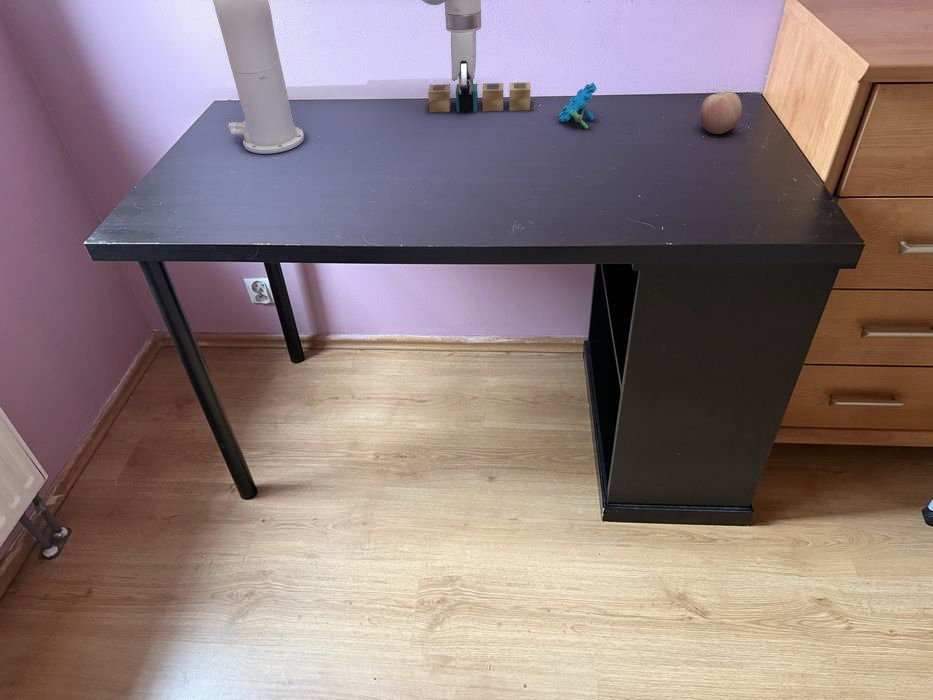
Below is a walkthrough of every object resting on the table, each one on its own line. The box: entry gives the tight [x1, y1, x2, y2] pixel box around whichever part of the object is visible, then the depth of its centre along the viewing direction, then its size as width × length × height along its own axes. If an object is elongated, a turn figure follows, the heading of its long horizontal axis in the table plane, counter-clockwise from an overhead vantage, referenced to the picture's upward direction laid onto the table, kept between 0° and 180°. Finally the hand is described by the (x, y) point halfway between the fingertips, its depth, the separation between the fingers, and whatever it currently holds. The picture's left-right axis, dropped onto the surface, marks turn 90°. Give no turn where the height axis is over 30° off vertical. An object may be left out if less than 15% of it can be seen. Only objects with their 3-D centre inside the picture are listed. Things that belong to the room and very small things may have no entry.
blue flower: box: [558, 82, 598, 130], centre depth 140 cm, size 11×6×10 cm
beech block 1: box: [427, 83, 452, 113], centre depth 149 cm, size 5×5×5 cm
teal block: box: [455, 83, 479, 113], centre depth 148 cm, size 5×5×5 cm
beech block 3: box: [508, 81, 531, 112], centre depth 147 cm, size 5×5×5 cm
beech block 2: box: [481, 82, 504, 112], centre depth 148 cm, size 5×5×5 cm
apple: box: [699, 90, 743, 135], centre depth 132 cm, size 8×8×8 cm
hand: (467, 106), depth 150 cm, fingers closed on teal block, 4 cm apart
